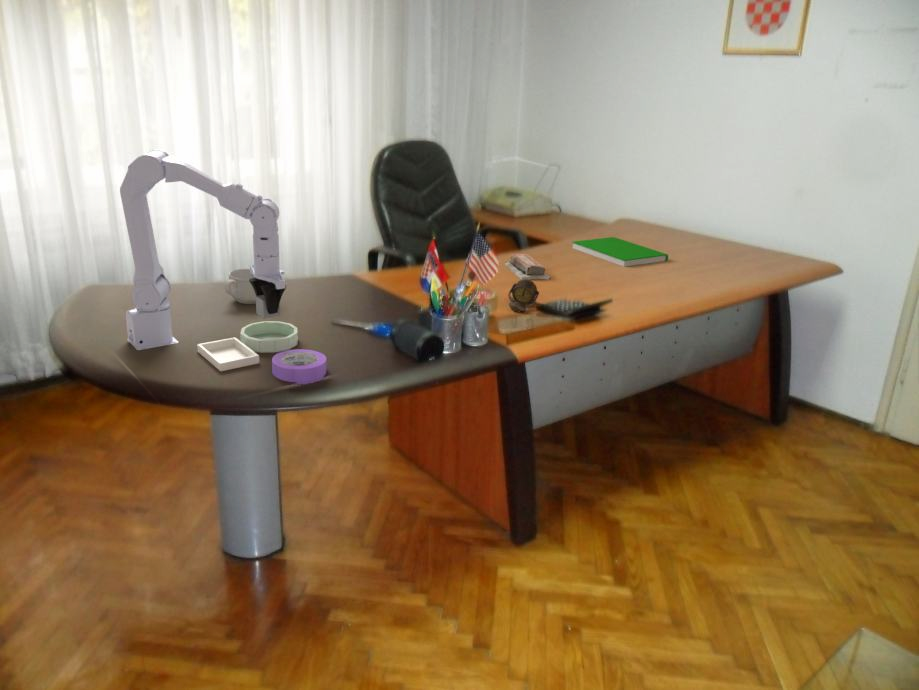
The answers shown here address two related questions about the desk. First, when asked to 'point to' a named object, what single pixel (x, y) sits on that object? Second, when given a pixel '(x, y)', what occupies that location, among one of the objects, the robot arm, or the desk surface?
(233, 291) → the teacup
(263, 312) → the grey cube
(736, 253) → the desk surface
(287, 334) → the bowl
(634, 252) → the book
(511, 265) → the packaged product
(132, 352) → the desk surface
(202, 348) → the parts tray
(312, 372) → the masking tape
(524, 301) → the brown desk clock
